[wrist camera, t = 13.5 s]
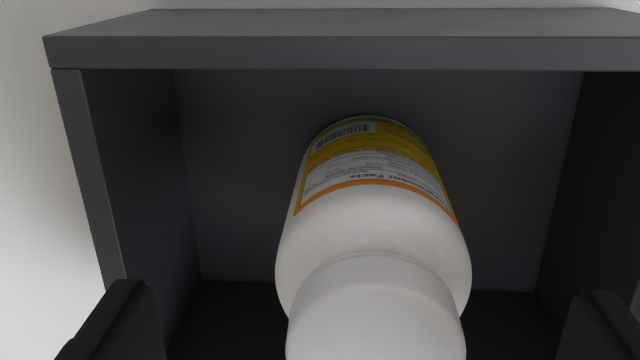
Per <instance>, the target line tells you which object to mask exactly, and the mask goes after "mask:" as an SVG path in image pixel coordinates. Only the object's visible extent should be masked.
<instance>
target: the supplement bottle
mask: <svg viewBox="0 0 640 360" xmlns="http://www.w3.org/2000/svg"><path fill="white" fill-rule="evenodd" d="M275 283H276V289H277V293H278V297H279V300H280V303H281V305H282V307H283V309H284V311H285V313H286V315H287V317H288V318H289V324H288V331H287V338H286V346H285V355H286V360H466V343H465V337H464V334H463V330H462V326H461V322H460V319H459V317H460V316H461V314H462V312H463V310H464V308H465V306H466V303H467V301H468V298H469V295H470V290H471V284H472V268H471V261H470V256H469V252H468V249H467V246H466V243H465V240H464V237H463V235H462V232H461V230H460V227H459V225H458V222H457V220H456V217H455V215H454V212H453V209H452V207H451V204H450V201H449V198H448V196H447V193H446V191H445V188H444V186H443V183H442V181H441V178H440V175H439V173H438V170H437V168H436V165H435V163H434V160H433V158H432V156H431V154H430V152H429V150H428V148H427V146H426V145H425V143H424V142H423V141H422V140H421V138H420V137H419V136H418V135H417V134H416V133H414V132H413V131H412V130H411V129H409V128H408V127H407V126H405V125H403V124H402V123H400V122H398V121H396V120H393V119H390V118H386V117H382V116H375V115H362V116H354V117H349V118H346V119H343V120H340V121H338V122H336V123H334V124H332V125H330V126H329V127H327V128H326V129H324V130H323V131H322V132H321V133H320V134H319V135H317V136H316V138H315V139H314V140H313V141H312V142H311V144H310V145H309V147H308V148H307V150H306V152H305V154H304V156H303V159H302V162H301V165H300V168H299V172H298V176H297V179H296V183H295V187H294V191H293V195H292V199H291V202H290V206H289V210H288V214H287V217H286V221H285V225H284V229H283V232H282V236H281V239H280V243H279V247H278V252H277V258H276V264H275Z"/></svg>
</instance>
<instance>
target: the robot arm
mask: <svg viewBox="0 0 640 360" xmlns="http://www.w3.org/2000/svg"><path fill="white" fill-rule="evenodd" d="M54 360H167V356H166V351H165V346H164V341H163V336H162V331H161V326H160V322H159V317H158V312H157V307H156V302H155V297H154V292H153V289H152V287H151V286H146V284H145V282H144V281H143V280H141V279H116V280H115V281H114V282H113V283H112V284H111V286H110V287H109V288H108V290H107V291H106V293H105V294H104V295H103V297H102V298H101V300H100V301H99V303H98V304H97V305H96V307H95V308H94V310H93V311H92V312H91V314H90V315H89V317H88V318H87V319H86V321H85V322H84V324H83V325H82V327H81V328H80V329H79V331H78V332H77V334H76V335H75V336H74V338H72V339H71V340H69V341H68V342H67V343H66V344H65V345H64V346H63V348H62V349H61V351H60V352H59V353H58V355H57V356H56V358H55V359H54ZM555 360H640V323H639V321H638V320H637V319H636V318H635V316H634V315H633V314H632V313H631V311H630V310H629V309H628V307H627V306H626V305H625V304H624V302H623V301H622V300H621V299H620V297H619V296H618V295H617V294H616V293H615V292H613V291H600V290H584V291H582V292H581V293H580V295H579V297H574V298H573V299H572V301H571V304H570V308H569V312H568V315H567V319H566V322H565V326H564V329H563V333H562V336H561V340H560V344H559V347H558V351H557V354H556V358H555Z"/></svg>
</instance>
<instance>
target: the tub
mask: <svg viewBox="0 0 640 360" xmlns="http://www.w3.org/2000/svg"><path fill="white" fill-rule="evenodd" d="M42 39H43V43H44V47H45V51H46V55H47V59H48V63H49V67H50V68H52V69H51V75H52V79H53V83H54V87H55V91H56V95H57V99H58V103H59V107H60V111H61V115H62V119H63V123H64V127H65V131H66V135H67V139H68V143H69V147H70V151H71V155H72V159H73V163H74V166H75V170H76V174H77V178H78V182H79V186H80V190H81V194H82V198H83V202H84V206H85V210H86V214H87V218H88V222H89V226H90V230H91V234H92V238H93V242H94V246H95V250H96V254H97V258H98V262H99V266H100V270H101V274H102V278H103V282H104V286H105V290H106V291H107V290H108V288H109V287H110V286H111V284H112V283H113V282H114V281H115V280H116V279H141V280H143V281H144V282H145V284H146V286H151V287H152V289H153V292H154V297H155V302H156V307H157V312H158V317H159V322H160V326H161V331H162V336H163V341H164V346H165V351H166V356H167V360H286V355H285V346H286V338H287V331H288V324H289V318H288V317H287V315H286V313H285V311H284V309H283V307H282V305H281V303H280V300H279V297H278V293H277V289H276V283H275V264H276V258H277V252H278V247H279V243H280V239H281V236H282V232H283V229H284V225H285V221H286V217H287V214H288V210H289V206H290V202H291V199H292V195H293V191H294V187H295V183H296V179H297V176H298V172H299V168H300V165H301V162H302V159H303V156H304V154H305V152H306V150H307V148H308V147H309V145H310V144H311V142H312V141H313V140H314V139H315V138H316V136H317V135H319V134H320V133H321V132H322V131H323V130H324V129H326V128H327V127H329V126H330V125H332V124H334V123H336V122H338V121H340V120H343V119H346V118H349V117H354V116H362V115H375V116H382V117H386V118H390V119H393V120H396V121H398V122H400V123H402V124H403V125H405V126H407V127H408V128H409V129H411V130H412V131H413V132H414V133H416V134H417V135H418V136H419V137H420V138H421V140H422V141H423V142H424V143H425V145H426V146H427V148H428V150H429V152H430V154H431V156H432V158H433V160H434V163H435V165H436V168H437V170H438V173H439V175H440V178H441V181H442V183H443V186H444V188H445V191H446V193H447V196H448V198H449V201H450V204H451V207H452V209H453V212H454V215H455V217H456V220H457V222H458V225H459V227H460V230H461V232H462V235H463V237H464V240H465V243H466V246H467V249H468V252H469V256H470V261H471V268H472V284H471V290H470V295H469V298H468V301H467V303H466V306H465V308H464V310H463V312H462V314H461V316H460V317H459V319H460V322H461V326H462V330H463V334H464V337H465V343H466V360H555V358H556V354H557V351H558V347H559V344H560V340H561V336H562V333H563V329H564V326H565V322H566V319H567V315H568V312H569V308H570V304H571V301H572V299H573V298H574V297H579V295H580V293H581V292H582V291H584V290H600V291H613V292H615V293H616V294H617V295H618V296H619V297H620V299H621V300H622V301H623V302H624V304H625V305H626V306H627V307H628V309H629V310H630V311H631V313H632V314H633V315H634V316H635V318H636V319H637V320H638V321H639V323H640V13H635V12H630V11H625V10H620V9H615V8H356V9H150V10H146V11H142V12H138V13H134V14H130V15H126V16H122V17H118V18H114V19H109V20H105V21H101V22H97V23H93V24H89V25H85V26H81V27H77V28H73V29H69V30H65V31H61V32H57V33H53V34H49V35H45V36H43V37H42Z"/></svg>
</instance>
